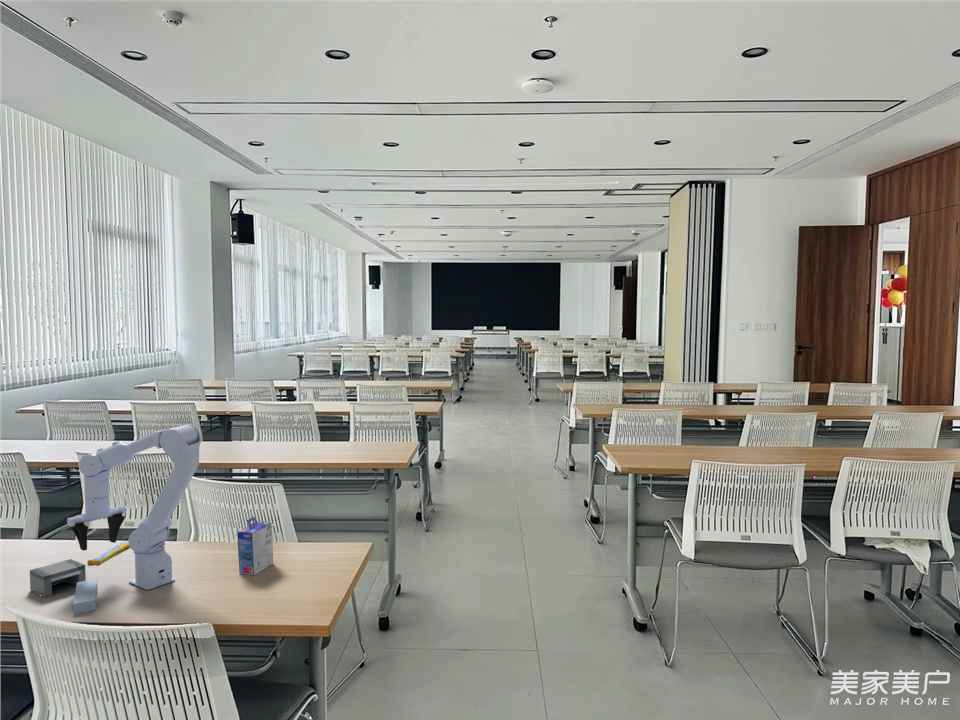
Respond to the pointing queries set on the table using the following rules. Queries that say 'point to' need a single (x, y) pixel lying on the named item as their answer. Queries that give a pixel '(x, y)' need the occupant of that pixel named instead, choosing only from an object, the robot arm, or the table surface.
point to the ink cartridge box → (255, 547)
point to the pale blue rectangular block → (85, 596)
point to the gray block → (56, 576)
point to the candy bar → (109, 554)
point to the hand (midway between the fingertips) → (98, 545)
